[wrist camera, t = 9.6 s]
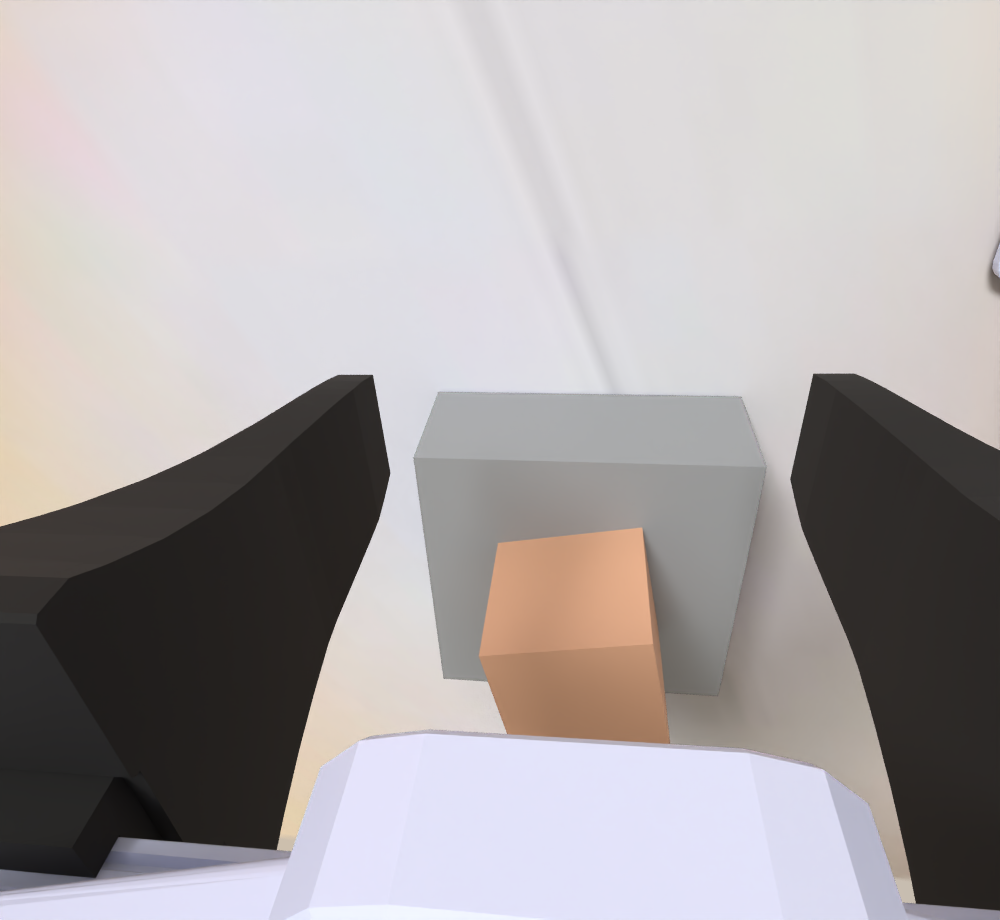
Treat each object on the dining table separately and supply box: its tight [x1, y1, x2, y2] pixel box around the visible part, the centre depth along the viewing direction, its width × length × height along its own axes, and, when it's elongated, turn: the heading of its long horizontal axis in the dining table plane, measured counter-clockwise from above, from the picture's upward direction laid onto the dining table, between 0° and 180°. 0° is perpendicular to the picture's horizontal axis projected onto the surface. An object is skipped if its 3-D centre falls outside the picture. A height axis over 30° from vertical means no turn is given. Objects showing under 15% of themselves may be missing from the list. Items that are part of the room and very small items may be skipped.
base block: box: [414, 392, 767, 696], centre depth 24 cm, size 10×10×4 cm
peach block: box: [479, 528, 670, 744], centre depth 21 cm, size 4×4×4 cm
